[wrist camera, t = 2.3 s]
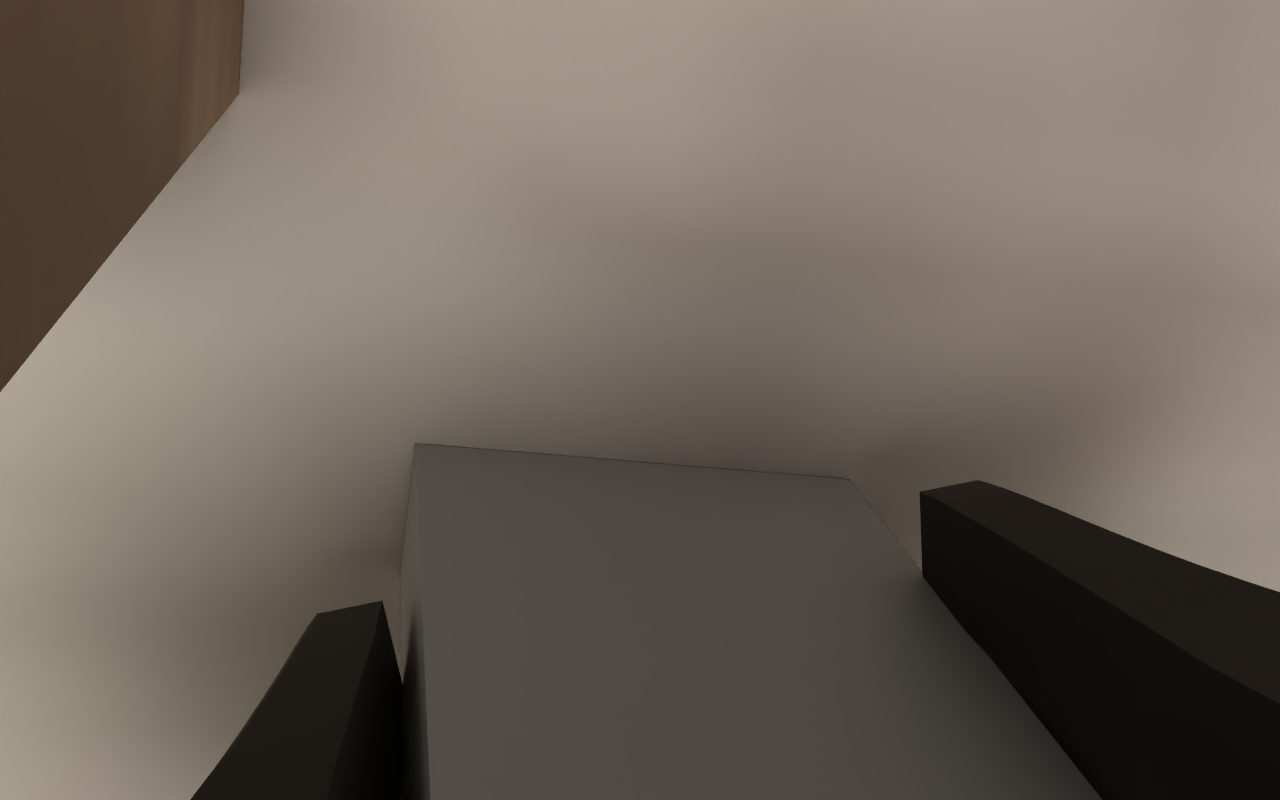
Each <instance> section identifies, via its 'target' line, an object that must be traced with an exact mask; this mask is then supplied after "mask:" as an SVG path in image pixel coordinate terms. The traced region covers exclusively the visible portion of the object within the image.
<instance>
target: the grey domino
mask: <svg viewBox="0 0 1280 800" xmlns="http://www.w3.org/2000/svg"><path fill="white" fill-rule="evenodd" d="M400 634H401V680H402V689H403V785H402V800H1102V799H1101V798H1100V796H1099V795H1098V794H1097V792H1096V791H1095V790H1094V789H1093V787H1092V786H1091V785H1090V784H1089V782H1088V781H1087V780H1086V779H1085V777H1084V776H1083V775H1082V773H1081V772H1080V771H1079V770H1078V768H1077V767H1076V766H1075V765H1074V763H1073V762H1072V761H1071V760H1070V758H1069V757H1068V756H1067V754H1066V753H1065V752H1064V751H1063V749H1062V748H1061V747H1060V746H1059V744H1058V743H1057V742H1056V741H1055V739H1054V738H1053V737H1052V735H1051V734H1050V733H1049V732H1048V730H1047V729H1046V728H1045V727H1044V725H1043V724H1042V723H1041V722H1040V720H1039V719H1038V718H1037V716H1036V715H1035V714H1034V713H1033V711H1032V710H1031V709H1030V708H1029V706H1028V705H1027V704H1026V703H1025V701H1024V700H1023V699H1022V697H1021V696H1020V695H1019V694H1018V692H1017V691H1016V690H1015V689H1014V687H1013V686H1012V685H1011V684H1010V682H1009V681H1008V680H1007V678H1006V677H1005V676H1004V675H1003V673H1002V672H1001V671H1000V670H999V668H998V667H997V666H996V665H995V663H994V662H993V661H992V659H991V658H990V657H989V656H988V655H987V654H986V653H985V652H984V651H983V650H982V648H981V647H980V646H979V645H978V644H977V643H976V642H975V641H974V640H973V639H972V638H971V637H970V636H969V635H968V633H967V632H966V631H965V630H964V629H963V627H962V626H961V625H960V624H959V622H958V621H957V620H956V619H955V617H954V616H953V615H952V613H951V612H950V611H949V610H948V608H947V607H946V606H945V605H944V603H943V602H942V601H941V599H940V598H939V597H938V596H937V594H936V593H935V592H934V591H933V589H932V588H931V587H930V585H929V584H928V583H927V582H926V580H925V579H924V578H923V574H922V571H921V570H920V568H919V567H918V566H917V565H916V563H915V562H914V561H913V559H912V558H911V557H910V556H909V554H908V553H907V552H906V551H905V549H904V548H903V547H902V546H901V544H900V543H899V542H898V540H897V539H896V538H895V537H894V535H893V534H892V533H891V532H890V530H889V529H888V528H887V527H886V525H885V524H884V523H883V521H882V520H881V519H880V518H879V516H878V515H877V514H876V513H875V511H874V510H873V509H872V508H871V506H870V505H869V504H868V502H867V501H866V500H865V499H864V497H863V496H862V495H861V494H860V492H859V491H858V490H857V489H856V487H855V486H854V485H853V483H852V482H851V481H850V480H849V479H840V478H828V477H816V476H804V475H792V474H779V473H767V472H755V471H743V470H731V469H719V468H706V467H694V466H682V465H670V464H658V463H646V462H634V461H621V460H609V459H597V458H585V457H573V456H561V455H548V454H536V453H524V452H512V451H500V450H488V449H476V448H463V447H451V446H439V445H427V444H415V449H414V458H413V466H412V475H411V483H410V492H409V500H408V509H407V517H406V526H405V534H404V543H403V551H402V560H401V568H400Z"/></svg>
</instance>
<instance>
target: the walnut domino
mask: <svg viewBox="0 0 1280 800" xmlns="http://www.w3.org/2000/svg"><path fill="white" fill-rule="evenodd" d="M243 10H244V0H0V392H1V390H2V389H3V388H4V387H5V385H6V384H7V383H8V382H9V380H10V379H11V378H12V377H13V375H14V374H15V373H16V372H17V370H18V369H19V368H20V367H21V365H22V364H23V363H24V362H25V360H26V359H27V358H28V357H29V355H30V354H31V353H32V352H33V350H34V349H35V348H36V347H37V345H38V344H39V343H40V342H41V340H42V339H43V338H44V337H45V335H46V334H47V333H48V332H49V330H50V329H51V328H52V327H53V325H54V324H55V323H56V322H57V320H58V319H59V318H60V317H61V315H62V314H63V313H64V312H65V310H66V309H67V308H68V307H69V305H70V304H71V303H72V302H73V300H74V299H75V298H76V297H77V295H78V294H79V293H80V292H81V290H82V289H83V288H84V287H85V285H86V284H87V283H88V282H89V280H90V279H91V278H92V277H93V275H94V274H95V273H96V272H97V270H98V269H99V268H100V267H101V265H102V264H103V263H104V262H105V260H106V259H107V258H108V257H109V255H110V254H111V253H112V252H113V250H114V249H115V248H116V247H117V245H118V244H119V243H120V242H121V240H122V239H123V238H124V237H125V235H126V234H127V233H128V232H129V230H130V229H131V228H132V227H133V225H134V224H135V223H136V222H137V220H138V219H139V218H140V217H141V215H142V214H143V213H144V212H145V210H146V209H147V208H148V207H149V205H150V204H151V203H152V202H153V200H154V199H155V198H156V197H157V195H158V194H159V193H160V192H161V190H162V189H163V188H164V187H165V185H166V184H167V183H168V182H169V180H170V179H171V178H172V177H173V175H174V174H175V173H176V172H177V170H178V169H179V168H180V167H181V165H182V164H183V163H184V162H185V160H186V159H187V158H188V157H189V155H190V154H191V153H192V152H193V150H194V149H195V148H196V147H197V145H198V144H199V143H200V142H201V140H202V139H203V138H204V137H205V135H206V134H207V133H208V132H209V130H210V129H211V128H212V127H213V125H214V124H215V123H216V122H217V120H218V119H219V118H220V117H221V115H222V114H223V113H224V112H225V110H226V109H227V108H228V107H229V105H230V104H231V103H232V102H233V100H234V99H235V98H236V97H237V95H238V94H239V80H240V62H241V45H242V27H243Z"/></svg>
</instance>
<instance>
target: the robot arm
mask: <svg viewBox="0 0 1280 800" xmlns="http://www.w3.org/2000/svg"><path fill="white" fill-rule="evenodd" d="M920 514H921V544H922V574H923V578H924V579H925V580H926V582H927V583H928V584H929V585H930V587H931V588H932V589H933V591H934V592H935V593H936V594H937V596H938V597H939V598H940V599H941V601H942V602H943V603H944V605H945V606H946V607H947V608H948V610H949V611H950V612H951V613H952V615H953V616H954V617H955V619H956V620H957V621H958V622H959V624H960V625H961V626H962V627H963V629H964V630H965V631H966V632H967V633H968V635H969V636H970V637H971V638H972V639H973V640H974V641H975V642H976V643H977V644H978V645H979V646H980V647H981V648H982V650H983V651H984V652H985V653H986V654H987V655H988V656H989V657H990V658H991V659H992V661H993V662H994V663H995V665H996V666H997V667H998V668H999V670H1000V671H1001V672H1002V673H1003V675H1004V676H1005V677H1006V678H1007V680H1008V681H1009V682H1010V684H1011V685H1012V686H1013V687H1014V689H1015V690H1016V691H1017V692H1018V694H1019V695H1020V696H1021V697H1022V699H1023V700H1024V701H1025V703H1026V704H1027V705H1028V706H1029V708H1030V709H1031V710H1032V711H1033V713H1034V714H1035V715H1036V716H1037V718H1038V719H1039V720H1040V722H1041V723H1042V724H1043V725H1044V727H1045V728H1046V729H1047V730H1048V732H1049V733H1050V734H1051V735H1052V737H1053V738H1054V739H1055V741H1056V742H1057V743H1058V744H1059V746H1060V747H1061V748H1062V749H1063V751H1064V752H1065V753H1066V754H1067V756H1068V757H1069V758H1070V760H1071V761H1072V762H1073V763H1074V765H1075V766H1076V767H1077V768H1078V770H1079V771H1080V772H1081V773H1082V775H1083V776H1084V777H1085V779H1086V780H1087V781H1088V782H1089V784H1090V785H1091V786H1092V787H1093V789H1094V790H1095V791H1096V792H1097V794H1098V795H1099V796H1100V798H1101V799H1102V800H1280V592H1277V591H1274V590H1271V589H1268V588H1264V587H1261V586H1258V585H1256V584H1253V583H1250V582H1247V581H1244V580H1241V579H1238V578H1235V577H1232V576H1229V575H1226V574H1223V573H1220V572H1217V571H1214V570H1211V569H1209V568H1206V567H1203V566H1200V565H1197V564H1194V563H1192V562H1189V561H1186V560H1184V559H1181V558H1178V557H1175V556H1173V555H1170V554H1167V553H1165V552H1162V551H1160V550H1157V549H1154V548H1152V547H1149V546H1147V545H1144V544H1141V543H1139V542H1136V541H1134V540H1131V539H1129V538H1126V537H1124V536H1121V535H1119V534H1116V533H1114V532H1111V531H1109V530H1106V529H1104V528H1102V527H1099V526H1097V525H1094V524H1092V523H1089V522H1087V521H1084V520H1082V519H1080V518H1077V517H1075V516H1072V515H1070V514H1067V513H1065V512H1062V511H1060V510H1058V509H1055V508H1053V507H1050V506H1048V505H1045V504H1043V503H1040V502H1038V501H1035V500H1033V499H1030V498H1028V497H1025V496H1023V495H1020V494H1018V493H1015V492H1012V491H1010V490H1007V489H1004V488H1001V487H998V486H995V485H992V484H989V483H986V482H982V481H979V480H977V481H972V482H967V483H962V484H957V485H952V486H947V487H942V488H937V489H932V490H927V491H922V492H920ZM402 785H403V689H402V680H401V676H400V672H399V668H398V664H397V660H396V655H395V651H394V647H393V643H392V639H391V635H390V630H389V626H388V622H387V618H386V614H385V610H384V606H383V601H378V602H373V603H369V604H364V605H359V606H354V607H349V608H344V609H339V610H334V611H329V612H324V613H319V614H317V615H316V616H315V618H314V619H313V620H312V622H311V623H310V624H309V626H308V627H307V629H306V630H305V632H304V633H303V635H302V637H301V638H300V640H299V641H298V643H297V645H296V646H295V648H294V649H293V651H292V653H291V654H290V656H289V658H288V659H287V661H286V662H285V664H284V666H283V667H282V669H281V670H280V672H279V674H278V675H277V677H276V678H275V680H274V682H273V683H272V685H271V686H270V688H269V689H268V691H267V693H266V694H265V696H264V697H263V699H262V700H261V702H260V703H259V705H258V706H257V708H256V709H255V711H254V712H253V714H252V715H251V717H250V718H249V720H248V721H247V722H246V724H245V725H244V727H243V728H242V730H241V731H240V733H239V734H238V736H237V737H236V739H235V740H234V742H233V743H232V744H231V746H230V747H229V749H228V750H227V752H226V753H225V755H224V756H223V757H222V759H221V760H220V762H219V763H218V764H217V766H216V767H215V768H214V770H213V771H212V772H211V774H210V775H209V776H208V777H207V779H206V780H205V781H204V783H203V784H202V785H201V787H200V788H199V789H198V790H197V792H196V793H195V794H194V796H193V797H192V798H191V800H402Z"/></svg>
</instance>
